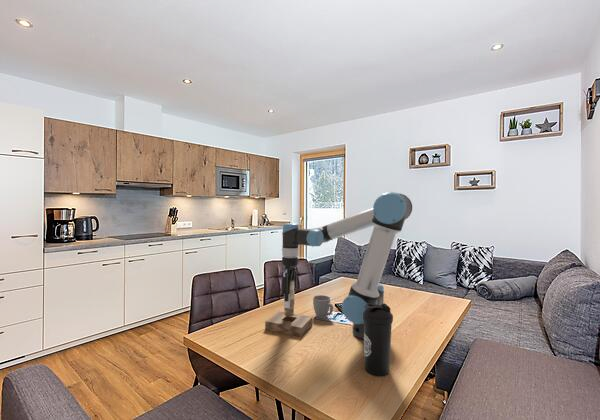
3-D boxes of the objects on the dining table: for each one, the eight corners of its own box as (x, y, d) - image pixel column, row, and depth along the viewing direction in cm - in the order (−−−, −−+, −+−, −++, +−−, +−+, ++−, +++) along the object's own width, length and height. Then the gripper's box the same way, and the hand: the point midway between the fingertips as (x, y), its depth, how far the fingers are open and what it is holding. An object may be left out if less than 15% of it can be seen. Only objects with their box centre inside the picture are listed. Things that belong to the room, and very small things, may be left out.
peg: (295, 313, 143) (295, 280, 142) (291, 316, 138) (292, 282, 138) (286, 312, 144) (287, 279, 144) (282, 315, 140) (283, 281, 140)
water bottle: (358, 362, 111) (359, 300, 110) (385, 361, 111) (386, 300, 111) (367, 378, 100) (368, 310, 100) (396, 377, 101) (397, 309, 101)
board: (312, 324, 145) (312, 316, 144) (301, 336, 132) (301, 327, 131) (278, 319, 151) (278, 311, 151) (265, 329, 138) (265, 321, 138)
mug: (309, 315, 156) (309, 297, 156) (321, 311, 162) (321, 294, 162) (326, 322, 148) (326, 303, 147) (338, 318, 153) (338, 299, 153)
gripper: (290, 253, 150) (289, 299, 151) (274, 258, 134) (273, 310, 135) (304, 254, 147) (303, 301, 148) (290, 260, 131) (289, 313, 132)
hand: (289, 305), depth 141 cm, fingers closed on peg, 4 cm apart
